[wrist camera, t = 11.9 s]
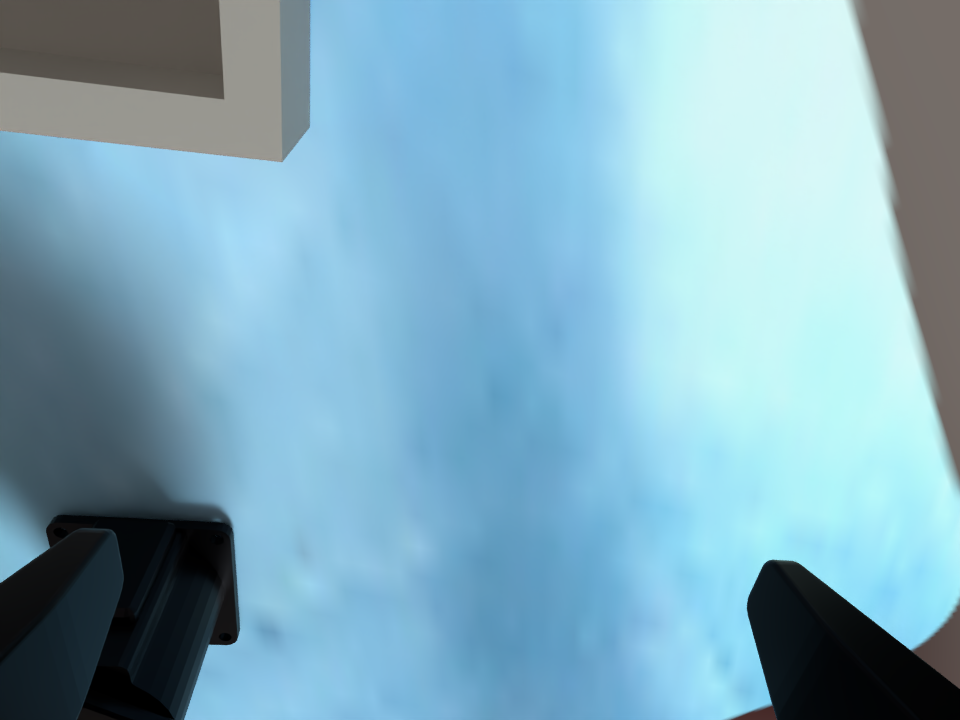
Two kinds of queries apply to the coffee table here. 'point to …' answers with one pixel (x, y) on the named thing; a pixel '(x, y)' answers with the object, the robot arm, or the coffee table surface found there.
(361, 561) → the coffee table surface
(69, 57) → the bin
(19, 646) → the robot arm
